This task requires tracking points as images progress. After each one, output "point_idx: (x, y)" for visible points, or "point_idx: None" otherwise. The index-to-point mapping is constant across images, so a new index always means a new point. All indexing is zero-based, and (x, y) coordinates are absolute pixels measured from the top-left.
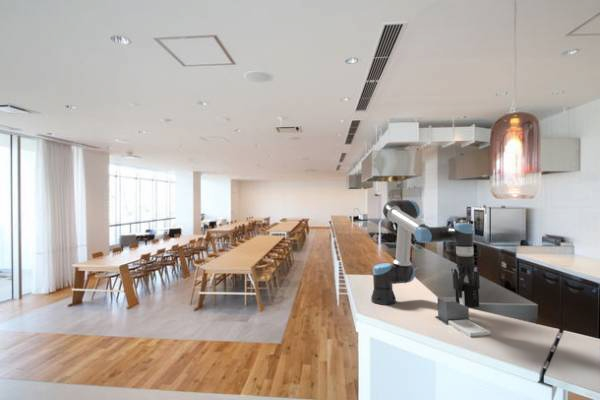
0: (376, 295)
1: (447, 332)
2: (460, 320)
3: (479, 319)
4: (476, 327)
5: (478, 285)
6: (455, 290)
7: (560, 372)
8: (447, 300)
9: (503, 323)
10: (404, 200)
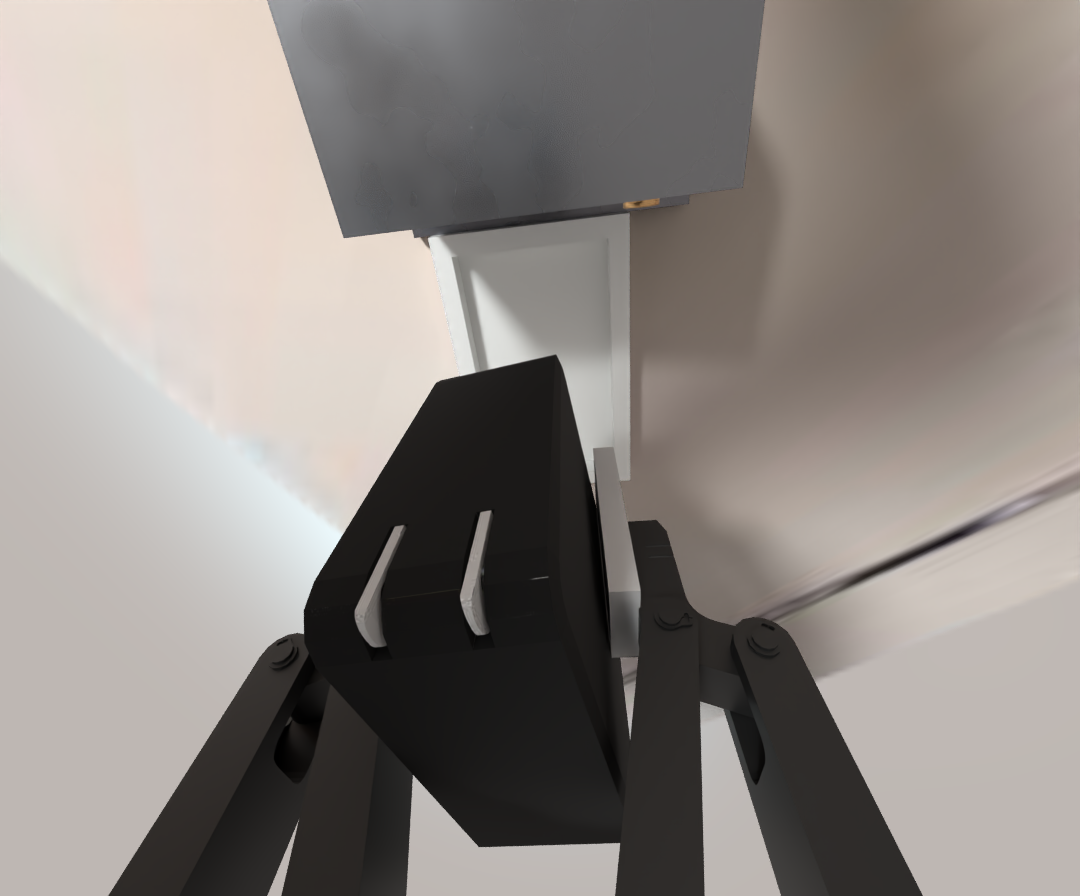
0: None
1: (375, 401)
2: (547, 243)
3: (838, 95)
4: (611, 369)
5: (763, 753)
6: (384, 470)
7: (629, 705)
8: (383, 147)
9: (953, 251)
10: None
